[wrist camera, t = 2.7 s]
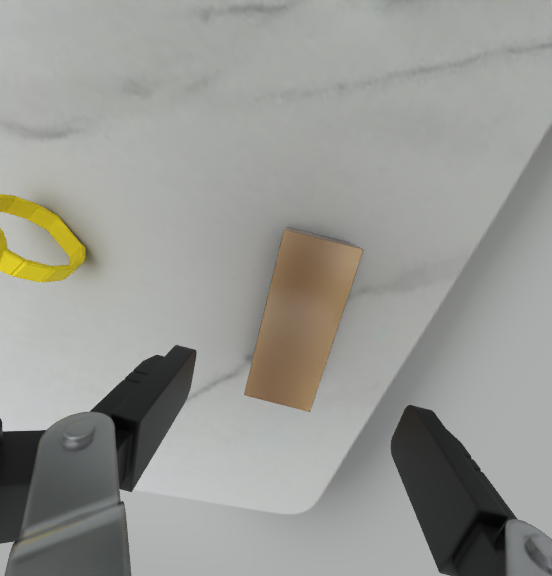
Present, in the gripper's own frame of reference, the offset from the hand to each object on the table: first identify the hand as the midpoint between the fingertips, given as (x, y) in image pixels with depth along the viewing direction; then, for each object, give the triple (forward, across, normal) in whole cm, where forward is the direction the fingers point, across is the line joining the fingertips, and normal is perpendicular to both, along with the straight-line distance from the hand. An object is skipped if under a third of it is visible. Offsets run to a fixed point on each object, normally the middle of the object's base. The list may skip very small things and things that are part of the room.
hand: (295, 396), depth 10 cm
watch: (+11, +18, -1) cm, 21 cm away
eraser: (+10, 0, 0) cm, 10 cm away
